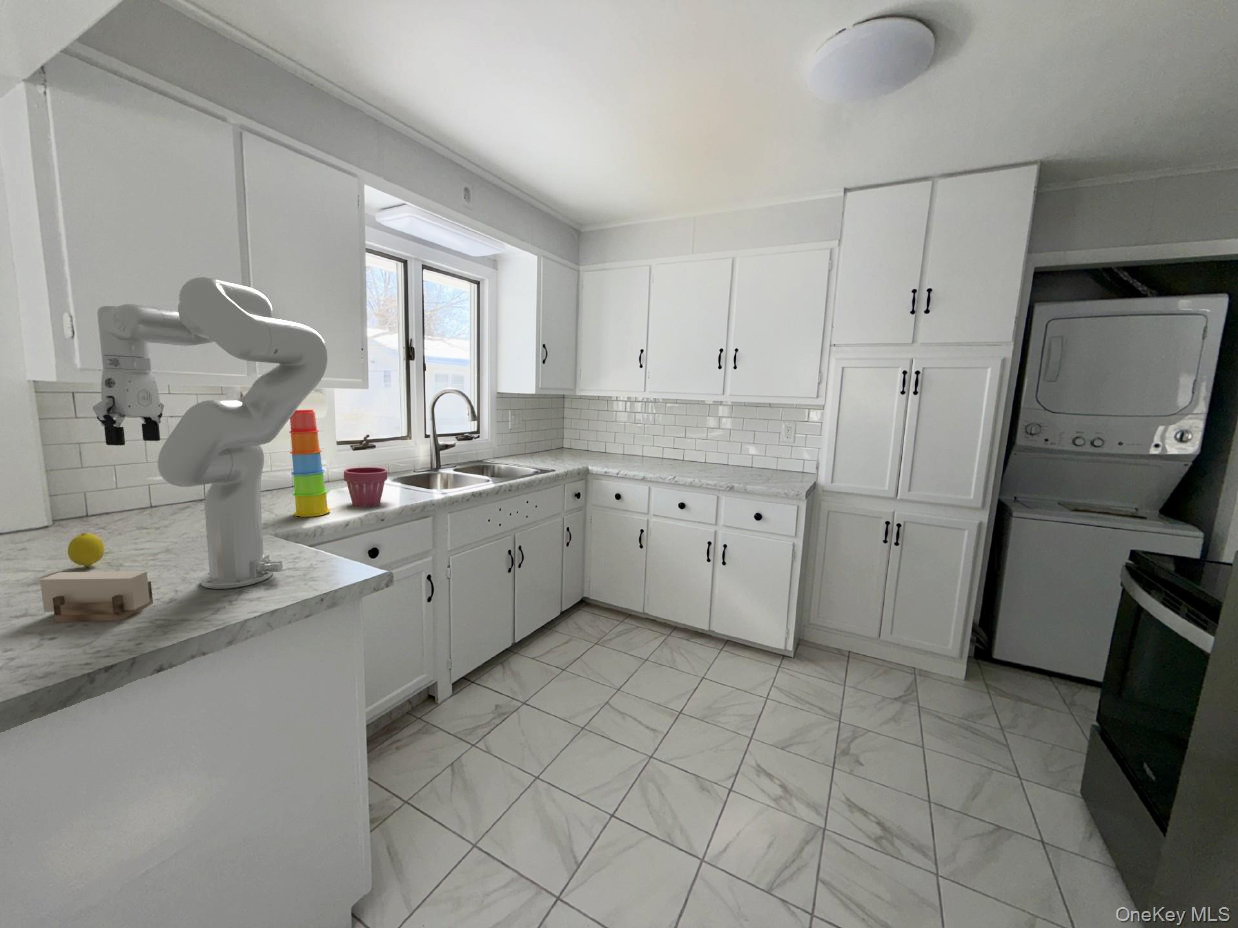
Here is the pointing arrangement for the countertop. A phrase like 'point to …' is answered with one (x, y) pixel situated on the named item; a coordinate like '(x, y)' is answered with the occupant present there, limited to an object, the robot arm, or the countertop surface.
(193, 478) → the robot arm
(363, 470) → the plant pot
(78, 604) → the rack
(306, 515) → the stacking cups
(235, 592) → the countertop surface
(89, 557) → the lemon
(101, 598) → the clay bar
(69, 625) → the countertop surface
